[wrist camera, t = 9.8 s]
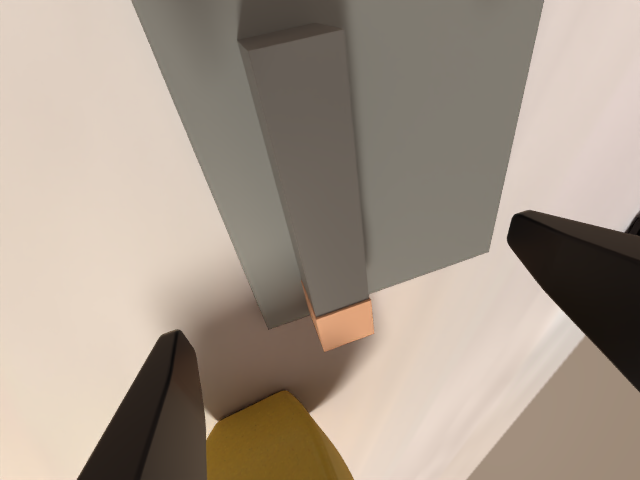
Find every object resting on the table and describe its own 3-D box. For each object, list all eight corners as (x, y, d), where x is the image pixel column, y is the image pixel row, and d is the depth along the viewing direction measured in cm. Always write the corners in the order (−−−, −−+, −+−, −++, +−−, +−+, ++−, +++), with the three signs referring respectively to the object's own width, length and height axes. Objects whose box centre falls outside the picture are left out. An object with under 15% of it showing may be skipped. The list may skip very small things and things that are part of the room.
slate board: (556, -130, 10) (573, -135, 10) (481, 245, 19) (488, 251, 19) (113, -52, 8) (108, -55, 8) (266, 320, 18) (268, 329, 17)
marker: (317, 22, 10) (347, 29, 8) (354, 296, 18) (373, 333, 16) (235, 40, 10) (246, 52, 8) (309, 312, 17) (324, 352, 15)
